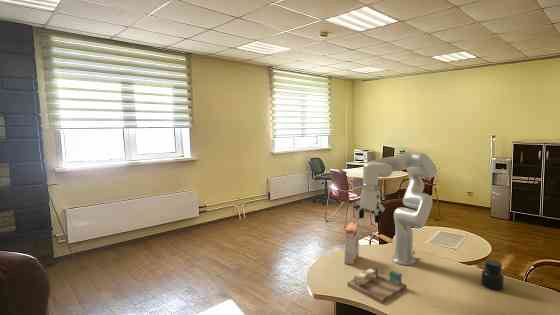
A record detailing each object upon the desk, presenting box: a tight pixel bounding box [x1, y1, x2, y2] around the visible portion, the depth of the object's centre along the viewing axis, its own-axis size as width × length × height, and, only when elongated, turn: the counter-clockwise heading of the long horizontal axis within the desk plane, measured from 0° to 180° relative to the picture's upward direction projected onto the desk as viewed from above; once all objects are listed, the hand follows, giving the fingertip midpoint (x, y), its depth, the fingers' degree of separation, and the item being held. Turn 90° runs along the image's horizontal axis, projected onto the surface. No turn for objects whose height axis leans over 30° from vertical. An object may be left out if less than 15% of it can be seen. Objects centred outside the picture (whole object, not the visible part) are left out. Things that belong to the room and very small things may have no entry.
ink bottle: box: [480, 259, 505, 291], centre depth 152 cm, size 10×9×12 cm
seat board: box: [347, 269, 407, 305], centre depth 154 cm, size 20×20×7 cm
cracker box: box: [344, 222, 360, 266], centre depth 184 cm, size 14×6×21 cm, turn 155°
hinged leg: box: [353, 266, 379, 286], centre depth 157 cm, size 16×3×4 cm, turn 127°
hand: (369, 220), depth 161 cm, fingers open, 9 cm apart
